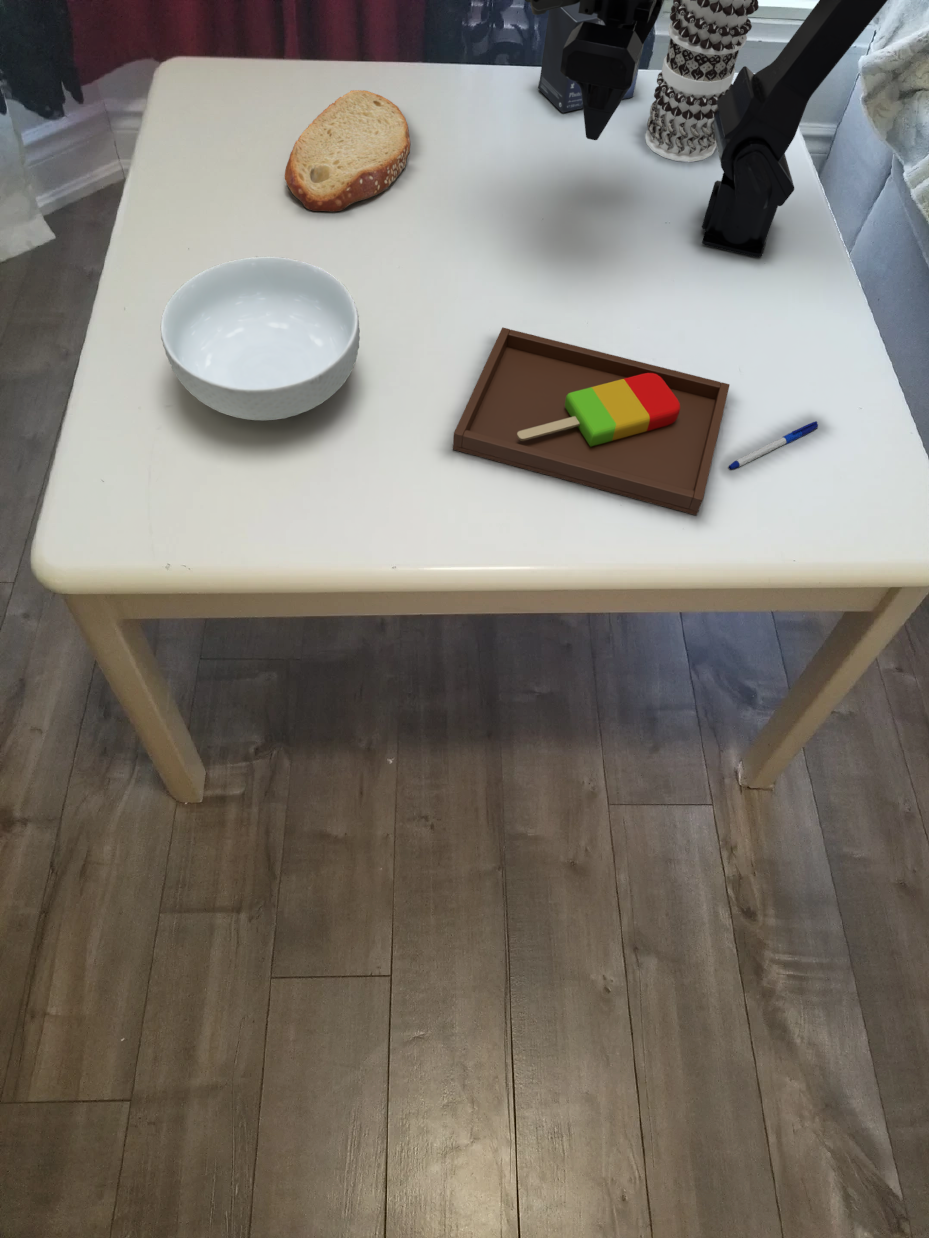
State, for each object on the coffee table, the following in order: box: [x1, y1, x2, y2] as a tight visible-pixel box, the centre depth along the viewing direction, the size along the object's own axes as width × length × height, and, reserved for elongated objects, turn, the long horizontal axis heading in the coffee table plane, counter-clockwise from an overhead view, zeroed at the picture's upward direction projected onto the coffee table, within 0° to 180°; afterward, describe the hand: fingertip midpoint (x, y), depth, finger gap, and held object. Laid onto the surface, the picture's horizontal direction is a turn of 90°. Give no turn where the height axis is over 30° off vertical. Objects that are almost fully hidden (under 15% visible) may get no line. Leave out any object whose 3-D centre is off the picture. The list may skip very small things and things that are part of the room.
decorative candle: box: [644, 0, 760, 163], centre depth 98 cm, size 9×9×25 cm
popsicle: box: [517, 373, 680, 447], centre depth 81 cm, size 6×15×2 cm, turn 112°
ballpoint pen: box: [728, 420, 819, 470], centre depth 81 cm, size 10×1×1 cm, turn 124°
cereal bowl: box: [160, 256, 361, 422], centre depth 80 cm, size 17×17×7 cm
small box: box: [537, 2, 645, 113], centre depth 109 cm, size 11×6×10 cm, turn 117°
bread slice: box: [284, 89, 411, 212], centre depth 102 cm, size 18×18×4 cm
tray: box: [452, 327, 730, 516], centre depth 81 cm, size 22×15×2 cm
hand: (601, 114), depth 88 cm, fingers open, 9 cm apart
